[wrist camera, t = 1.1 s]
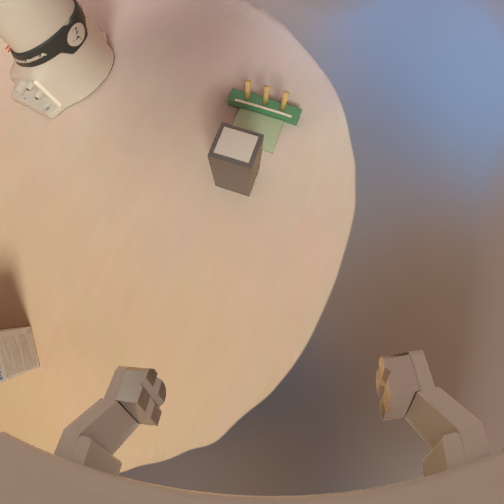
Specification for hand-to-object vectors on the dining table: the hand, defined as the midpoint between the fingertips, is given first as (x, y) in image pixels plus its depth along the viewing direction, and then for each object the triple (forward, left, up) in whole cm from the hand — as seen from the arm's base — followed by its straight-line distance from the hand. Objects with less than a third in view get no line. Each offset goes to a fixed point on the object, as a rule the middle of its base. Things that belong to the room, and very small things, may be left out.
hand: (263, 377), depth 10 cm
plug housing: (-7, +15, -28) cm, 33 cm away
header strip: (-7, +26, -28) cm, 39 cm away
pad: (-7, +23, -28) cm, 37 cm away
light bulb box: (-32, -20, -28) cm, 47 cm away
